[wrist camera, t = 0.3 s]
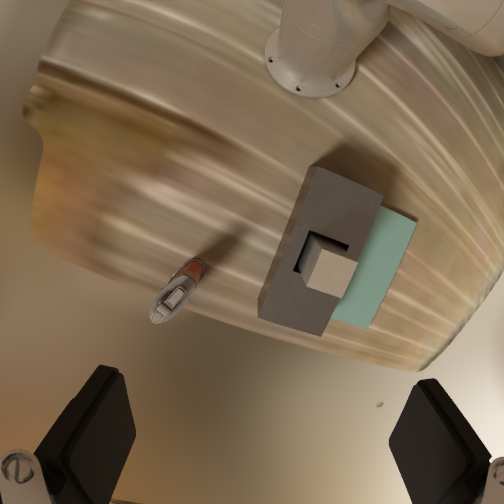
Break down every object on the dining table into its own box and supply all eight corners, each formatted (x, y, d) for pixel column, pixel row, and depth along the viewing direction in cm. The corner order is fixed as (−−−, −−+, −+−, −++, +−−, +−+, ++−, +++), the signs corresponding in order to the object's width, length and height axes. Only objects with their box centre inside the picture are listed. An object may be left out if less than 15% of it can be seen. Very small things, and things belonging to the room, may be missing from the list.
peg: (304, 227, 41) (322, 248, 30) (331, 237, 42) (358, 262, 30) (293, 254, 42) (306, 286, 31) (320, 264, 43) (341, 298, 31)
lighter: (176, 304, 45) (157, 338, 35) (159, 289, 44) (136, 320, 35) (210, 268, 43) (197, 296, 34) (193, 252, 43) (175, 276, 33)
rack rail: (309, 166, 39) (317, 166, 33) (367, 191, 40) (384, 195, 34) (257, 298, 44) (257, 317, 38) (313, 316, 45) (320, 336, 39)
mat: (371, 201, 40) (372, 201, 39) (414, 221, 41) (416, 222, 40) (322, 313, 45) (323, 315, 44) (365, 326, 45) (367, 328, 44)
